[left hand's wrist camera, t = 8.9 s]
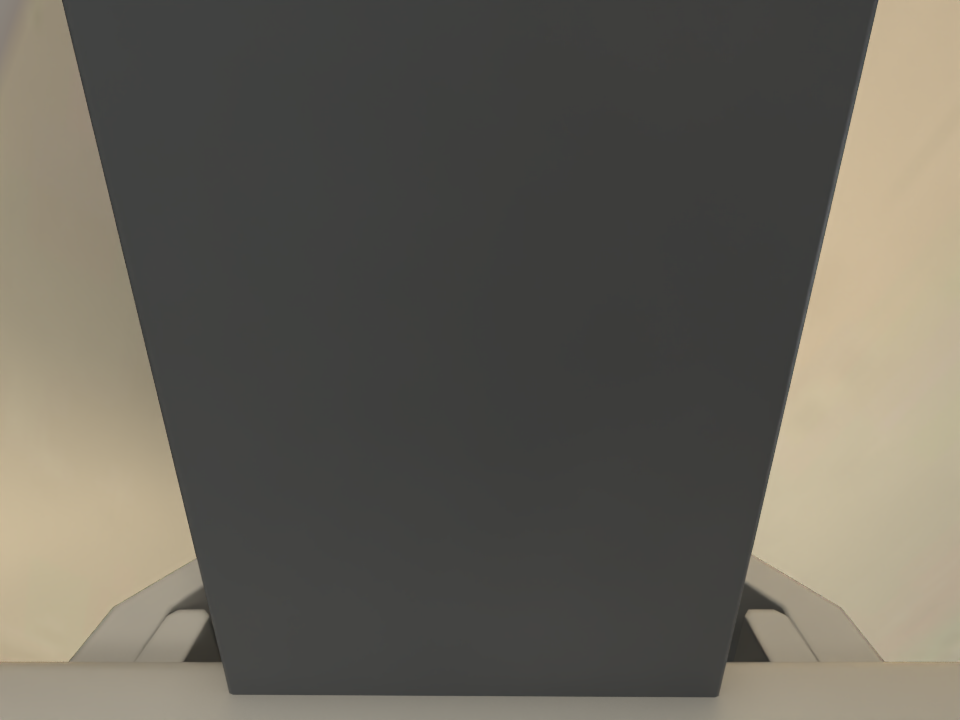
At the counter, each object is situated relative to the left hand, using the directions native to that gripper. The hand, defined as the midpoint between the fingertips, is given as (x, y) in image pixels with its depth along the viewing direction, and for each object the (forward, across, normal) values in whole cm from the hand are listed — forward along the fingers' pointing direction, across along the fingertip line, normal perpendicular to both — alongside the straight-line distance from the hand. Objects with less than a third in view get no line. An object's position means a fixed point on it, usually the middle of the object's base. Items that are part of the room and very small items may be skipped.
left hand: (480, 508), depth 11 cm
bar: (+3, 0, -33) cm, 33 cm away
